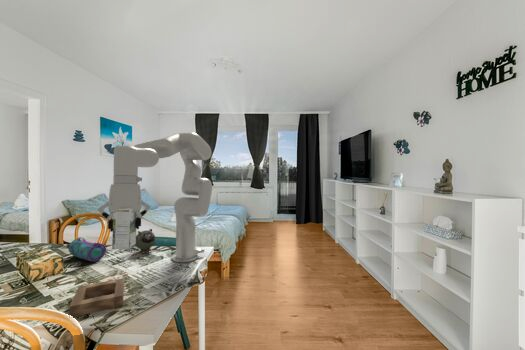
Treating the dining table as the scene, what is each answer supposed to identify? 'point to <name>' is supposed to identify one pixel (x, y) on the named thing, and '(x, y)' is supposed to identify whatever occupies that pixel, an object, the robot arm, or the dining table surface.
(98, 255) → the pencil case
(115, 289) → the walnut collar
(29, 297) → the dining table surface
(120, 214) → the syrup box
